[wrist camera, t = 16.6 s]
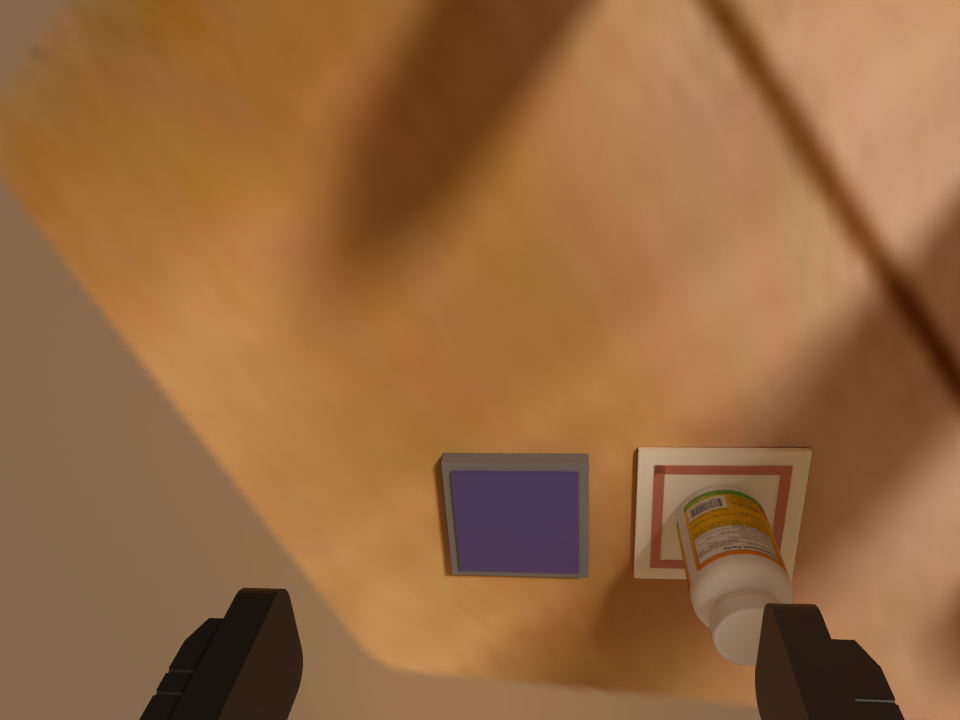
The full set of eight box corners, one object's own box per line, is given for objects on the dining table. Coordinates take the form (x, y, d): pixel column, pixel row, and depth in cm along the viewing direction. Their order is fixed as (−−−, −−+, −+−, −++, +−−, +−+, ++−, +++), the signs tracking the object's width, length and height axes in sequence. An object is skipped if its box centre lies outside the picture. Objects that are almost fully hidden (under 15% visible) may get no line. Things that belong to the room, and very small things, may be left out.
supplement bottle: (741, 561, 49) (779, 687, 40) (661, 538, 49) (682, 659, 40) (779, 497, 46) (828, 617, 38) (695, 472, 46) (725, 587, 37)
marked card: (810, 448, 45) (812, 452, 45) (789, 577, 49) (791, 583, 49) (638, 447, 46) (639, 451, 46) (633, 574, 51) (633, 579, 50)
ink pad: (588, 454, 47) (588, 466, 46) (587, 567, 51) (588, 581, 50) (443, 453, 48) (440, 465, 47) (454, 564, 52) (451, 577, 51)
